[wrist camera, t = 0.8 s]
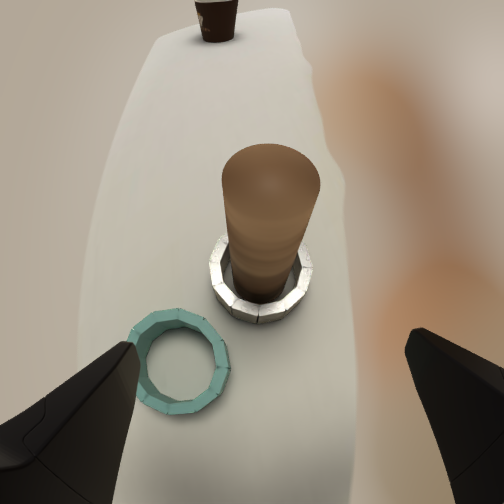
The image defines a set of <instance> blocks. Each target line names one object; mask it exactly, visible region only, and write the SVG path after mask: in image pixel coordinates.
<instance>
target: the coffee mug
mask: <svg viewBox="0 0 504 504" xmlns="http://www.w3.org/2000/svg"><path fill="white" fill-rule="evenodd" d="M194 1H195V6H196V10H197V14H198V19H199V23H200V28H201V32H202V36H203V40H204V41H206V42H213V43H216V42H225V41H229V40H231V39H232V38H233V37H234V29H235V21H236V13H237V6H238V0H194Z"/></svg>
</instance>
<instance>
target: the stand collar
mask: <svg viewBox="0 0 504 504" xmlns="http://www.w3.org/2000/svg"><path fill="white" fill-rule="evenodd" d="M219 239H220V240H219ZM219 239H218V241H217V244H216V246H215V248H214V251H213V253H212V255H211V257H210V260H209V266H210V272H211V279H212V285H213V288H214V291H215V294H216V297H217V299H218V300H219V301H220V302H221V304H222V305H223V306H224V307H225V308H226V309H227V310H228V312H229V313H230V314H231V315H233V317H236V318H239V319H242V320H245V321H248V322H251V323H254V324H256V322H257V324H262V323H267V322H272V321H276V320H281V318H284V317H285V316H286V315H287V314H288V313H289V312H290V311H291V310H292V309H294V308H295V307H296V306H297V305H298V304H299V303H300V301H301V299H302V298H303V296H304V295H305V293H306V292H307V288H308V284H309V281H310V277H311V273H312V270H313V269H312V268H313V267H312V263H311V260H310V257H309V253H308V250H307V247H306V245H305V243H304V242H303V241H301V244H300V247H299V250H298V252H297V255H296V258H295V260H294V263H293V265H292V268H293V272H294V276H295V279H296V282H295V286H294V289H293V290H292V291H291V292H290V293H289V294H288V295H287V296H286V297H285V298H283V299H282V300H281V301H277V302H272V303H267V304H262V305H257V304H254V303H251V302H248V301H245V300H242V299H239V298H237V297H236V296H235V295H234V294H233V293H232V291H231V290H230V289H229V288H228V287H227V286H226V285H225V284H224V281H223V274H224V272H225V269H226V267H227V264H228V262H229V260H230V259H231V258H230V249H229V241H228V232H227V233H226V234H224V235H223V236H222V237H220V238H219Z"/></svg>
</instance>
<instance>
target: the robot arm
mask: <svg viewBox="0 0 504 504" xmlns="http://www.w3.org/2000/svg"><path fill="white" fill-rule="evenodd" d="M405 356H406V358H407V362H408V365H409V368H410V371H411V374H412V378H413V380H414V384H415V387H416V390H417V392H418V395H419V397H420V400H421V402H422V405H423V407H424V409H425V412H426V415H427V417H428V420H429V422H430V425H431V428H432V430H433V433H434V436H435V438H436V441H437V444H438V447H439V450H440V453H441V456H442V459H443V462H444V465H445V468H446V471H447V475H448V478H449V481H450V485H451V488H452V492H453V495H454V500H455V503H456V504H504V369H503V368H502V367H499V366H498V365H496V364H494V363H492V362H490V361H488V360H486V359H484V358H482V357H480V356H478V355H476V354H474V353H472V352H470V351H468V350H466V349H464V348H462V347H460V346H458V345H456V344H454V343H452V342H450V341H449V340H446V339H445V338H442V337H441V336H438V335H437V334H435V333H433V332H431V331H429V330H427V329H425V328H416V329H413V330H412V331H411V333H410V335H409V338H408V340H407V343H406V346H405ZM140 368H141V363H140V359H139V356H138V353H137V350H136V346H135V344H134V343H133V342H127V341H121V342H119V343H118V344H117V345H115V346H114V347H112V348H111V349H110V350H108V351H107V352H106V353H104V354H103V355H101V356H100V357H99V358H97V359H96V360H94V361H93V362H92V363H90V364H89V365H88V366H86V367H85V368H83V369H82V370H81V371H79V372H78V373H76V374H75V375H74V376H72V377H71V378H70V379H68V380H67V381H65V382H64V383H63V384H61V385H60V386H59V387H57V388H56V389H54V390H53V391H52V392H50V393H49V394H47V395H46V397H43V398H42V399H41V400H39V401H38V402H36V403H35V404H34V405H32V406H31V407H29V408H28V409H26V410H25V411H23V412H22V413H20V414H19V415H17V416H15V417H13V418H12V419H10V420H8V421H7V422H5V423H3V424H1V425H0V504H112V500H113V495H114V490H115V485H116V480H117V476H118V471H119V467H120V462H121V458H122V453H123V449H124V445H125V441H126V437H127V433H128V429H129V425H130V422H131V418H132V414H133V410H134V405H135V399H136V392H137V386H138V380H139V374H140Z"/></svg>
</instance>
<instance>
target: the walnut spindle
mask: <svg viewBox="0 0 504 504" xmlns="http://www.w3.org/2000/svg"><path fill="white" fill-rule="evenodd" d="M222 187H223V196H224V206H225V215H226V223H227V232H228V241H229V249H230V258H231V266H232V274H233V282H234V287H235V289H236V291H237V292H238V294H239V295H240V296H241V297H242V298H243V299H245V300H246V301H248V302H251V303H255V304H264V303H268V302H271V301H273V300H275V299H276V298H277V297H278V296H279V295H280V294H281V293H282V291H283V289H284V286H285V284H286V281H287V278H288V276H289V273H290V271H291V268H292V265H293V263H294V260H295V258H296V255H297V252H298V250H299V247H300V244H301V241H302V239H303V236H304V233H305V231H306V228H307V225H308V222H309V219H310V217H311V214H312V211H313V208H314V205H315V203H316V200H317V197H318V194H319V191H320V177H319V174H318V171H317V170H316V168H315V166H314V165H313V163H312V162H311V161H310V160H309V159H308V158H307V157H306V156H304V155H303V154H301V153H300V152H298V151H296V150H294V149H292V148H290V147H286V146H283V145H278V144H258V145H253V146H249V147H247V148H244V149H242V150H240V151H239V152H237V153H236V154H234V155H233V156H232V157H231V158H230V159H229V160H228V162H227V163H226V165H225V167H224V169H223V173H222Z"/></svg>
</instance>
